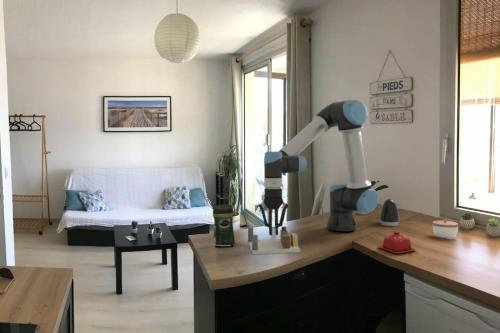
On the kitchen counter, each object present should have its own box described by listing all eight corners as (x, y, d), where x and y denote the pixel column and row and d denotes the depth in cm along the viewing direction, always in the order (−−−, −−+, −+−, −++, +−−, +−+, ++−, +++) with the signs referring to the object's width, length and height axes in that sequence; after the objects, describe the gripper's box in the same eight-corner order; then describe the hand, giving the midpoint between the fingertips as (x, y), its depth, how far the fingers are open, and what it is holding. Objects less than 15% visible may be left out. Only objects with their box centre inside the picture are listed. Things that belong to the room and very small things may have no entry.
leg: (280, 239, 175) (280, 226, 175) (287, 239, 175) (286, 226, 175) (282, 248, 161) (282, 233, 161) (290, 247, 161) (289, 233, 161)
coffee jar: (233, 242, 178) (232, 202, 177) (236, 247, 170) (235, 205, 169) (212, 244, 176) (211, 203, 175) (214, 248, 168) (213, 206, 167)
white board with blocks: (290, 241, 178) (290, 225, 178) (300, 252, 161) (300, 234, 160) (247, 243, 176) (247, 227, 176) (252, 254, 158) (252, 236, 158)
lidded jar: (457, 237, 182) (457, 217, 182) (458, 242, 172) (459, 222, 172) (432, 235, 187) (432, 216, 186) (432, 240, 177) (432, 220, 176)
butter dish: (396, 256, 154) (396, 235, 154) (376, 249, 165) (376, 229, 164) (417, 252, 159) (418, 232, 158) (396, 246, 169) (396, 227, 169)
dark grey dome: (401, 226, 209) (401, 198, 208) (397, 229, 200) (397, 200, 199) (382, 224, 214) (382, 197, 214) (377, 227, 206) (377, 199, 205)
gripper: (258, 188, 159) (258, 245, 160) (289, 188, 159) (289, 244, 161) (257, 187, 166) (257, 240, 168) (287, 186, 167) (287, 240, 168)
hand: (273, 242), depth 164 cm, fingers closed
